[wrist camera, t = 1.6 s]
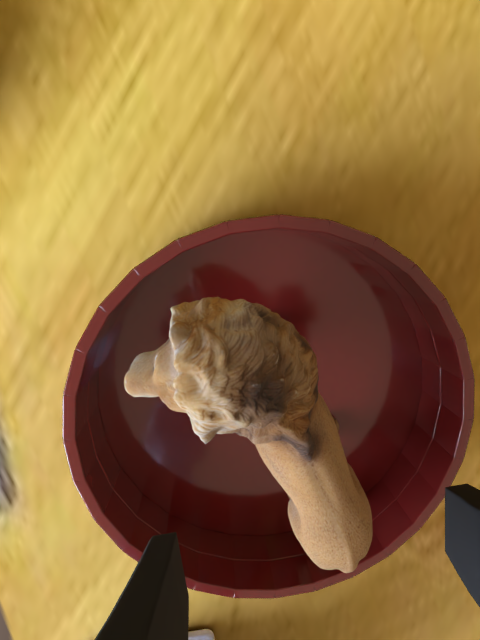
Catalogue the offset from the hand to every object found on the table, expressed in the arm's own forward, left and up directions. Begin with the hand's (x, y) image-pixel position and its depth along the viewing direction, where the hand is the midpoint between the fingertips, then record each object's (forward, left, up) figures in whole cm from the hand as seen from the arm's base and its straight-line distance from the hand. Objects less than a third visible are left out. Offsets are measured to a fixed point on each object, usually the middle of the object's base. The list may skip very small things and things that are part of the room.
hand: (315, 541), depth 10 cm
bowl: (0, 0, -9) cm, 9 cm away
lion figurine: (0, 0, -9) cm, 9 cm away
